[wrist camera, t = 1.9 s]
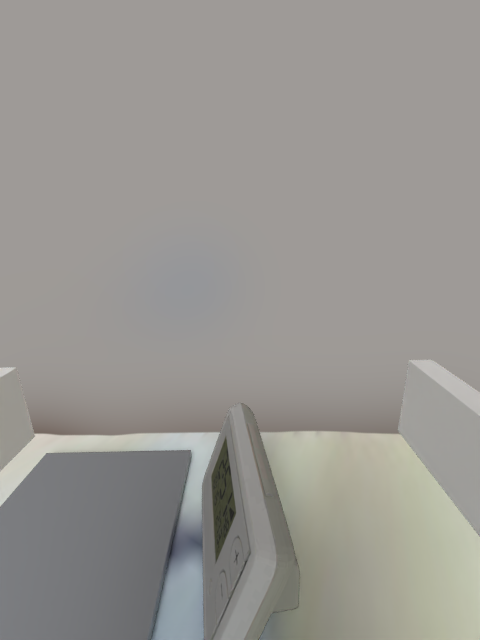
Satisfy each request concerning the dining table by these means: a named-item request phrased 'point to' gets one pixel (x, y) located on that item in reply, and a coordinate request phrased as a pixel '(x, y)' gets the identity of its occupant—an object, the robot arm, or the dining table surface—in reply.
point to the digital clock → (244, 536)
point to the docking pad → (89, 545)
